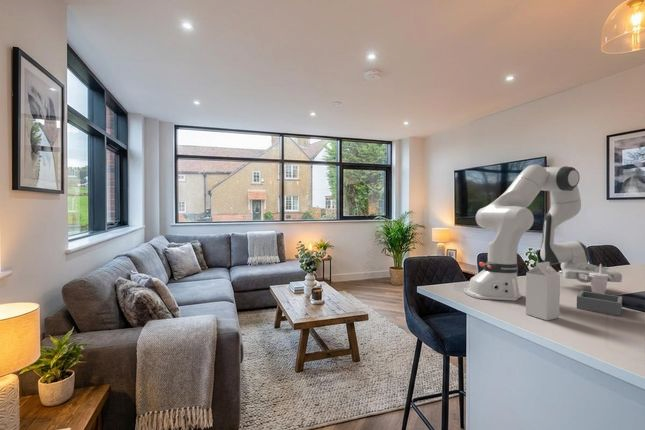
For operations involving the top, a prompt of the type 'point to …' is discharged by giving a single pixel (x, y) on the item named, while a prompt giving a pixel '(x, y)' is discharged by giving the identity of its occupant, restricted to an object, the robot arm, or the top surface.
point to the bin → (599, 302)
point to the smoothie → (598, 282)
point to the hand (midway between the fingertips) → (599, 278)
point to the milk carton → (543, 292)
